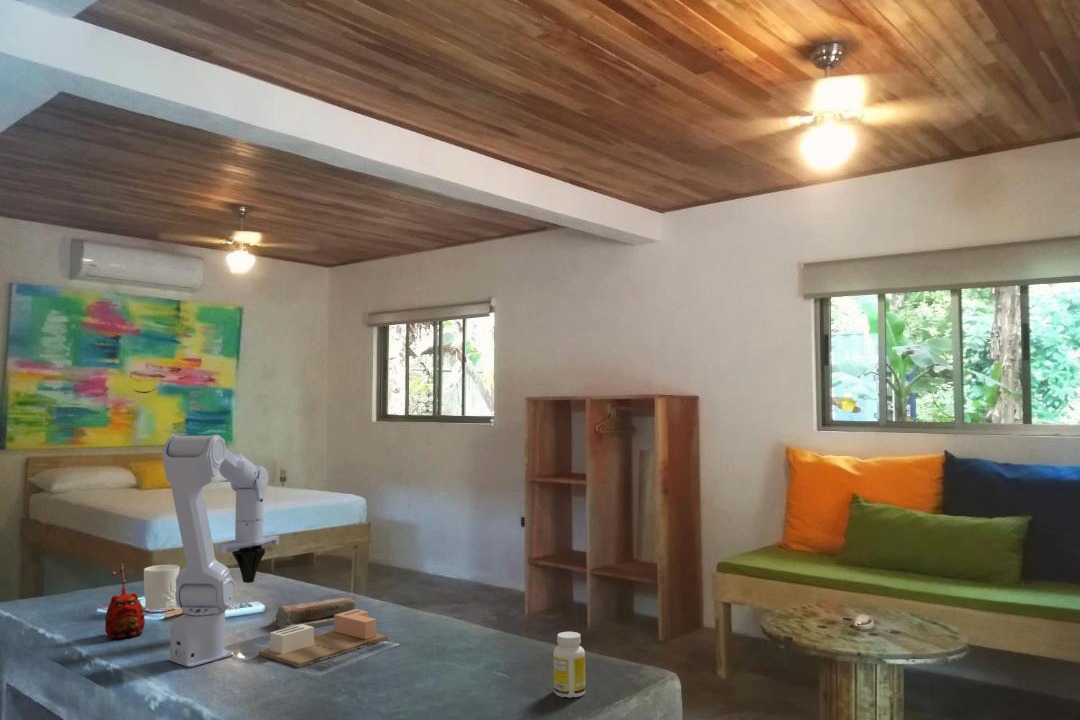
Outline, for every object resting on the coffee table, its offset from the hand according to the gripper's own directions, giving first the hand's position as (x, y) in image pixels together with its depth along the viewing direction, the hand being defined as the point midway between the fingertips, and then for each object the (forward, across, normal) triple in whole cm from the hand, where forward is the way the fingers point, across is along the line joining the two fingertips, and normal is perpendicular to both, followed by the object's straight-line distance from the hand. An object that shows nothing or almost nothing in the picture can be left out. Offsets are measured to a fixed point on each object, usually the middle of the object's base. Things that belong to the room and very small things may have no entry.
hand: (248, 582), depth 177 cm
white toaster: (+10, -4, -21) cm, 24 cm away
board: (+10, +1, -24) cm, 26 cm away
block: (+9, +10, -24) cm, 28 cm away
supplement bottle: (+11, +7, -79) cm, 80 cm away
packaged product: (+11, +14, -7) cm, 19 cm away
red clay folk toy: (+11, -17, +19) cm, 28 cm away
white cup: (+11, -1, +33) cm, 35 cm away
